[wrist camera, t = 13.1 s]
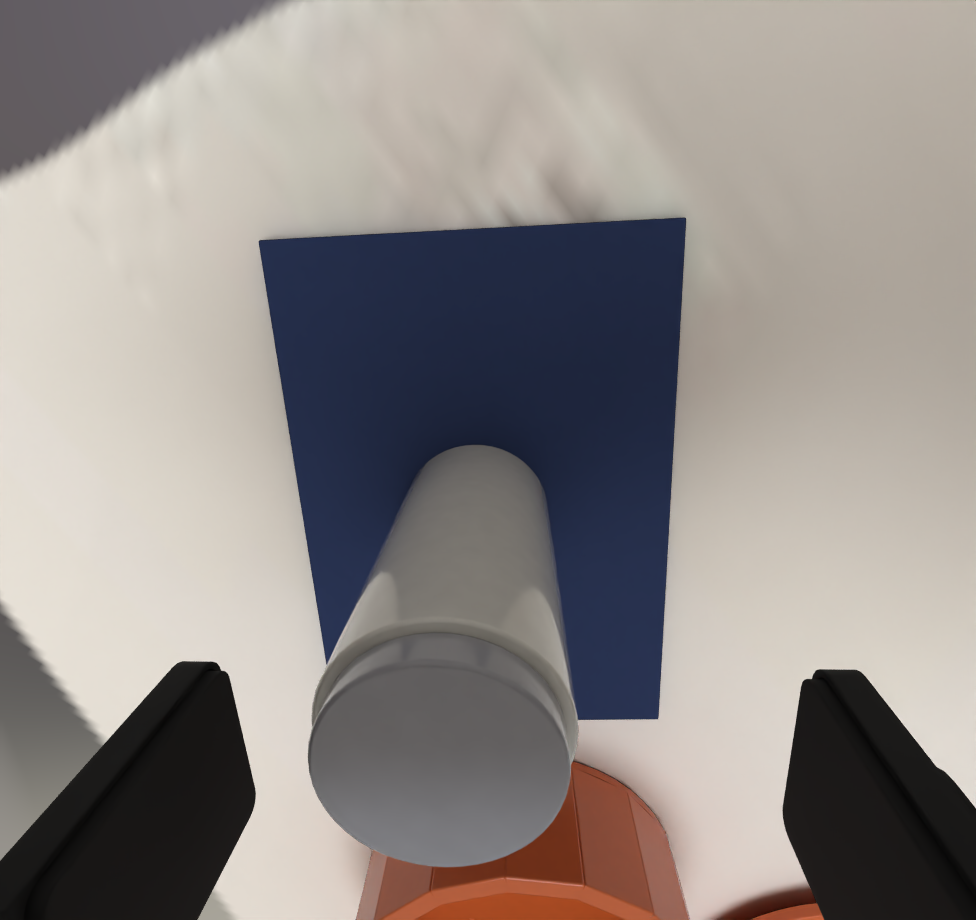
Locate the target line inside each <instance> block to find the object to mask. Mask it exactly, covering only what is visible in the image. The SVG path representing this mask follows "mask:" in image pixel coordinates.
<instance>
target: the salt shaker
mask: <svg viewBox="0 0 976 920" xmlns="http://www.w3.org/2000/svg"><path fill="white" fill-rule="evenodd" d="M578 732H579V729H578V716H577V709H576V702H575V695H574V688H573V681H572V674H571V667H570V660H569V653H568V646H567V639H566V632H565V625H564V617H563V610H562V603H561V596H560V589H559V582H558V575H557V568H556V561H555V554H554V547H553V540H552V533H551V526H550V519H549V512H548V505H547V499H546V495H545V492H544V489H543V487H542V484H541V483H540V481H539V479H538V477H537V476H536V475H535V473H534V472H533V471H532V470H531V469H530V468H529V467H528V466H527V464H525V463H524V462H523V461H522V460H520V459H519V458H518V457H516V456H514V455H513V454H511V453H509V452H507V451H504V450H502V449H499V448H495V447H492V446H485V445H465V446H459V447H455V448H452V449H449V450H446V451H444V452H442V453H440V454H438V455H437V456H435V457H434V458H432V459H431V460H429V461H428V462H427V463H426V464H425V465H424V466H423V467H422V468H421V470H420V471H419V472H418V473H417V475H416V476H415V478H414V480H413V481H412V484H411V486H410V488H409V490H408V492H407V494H406V496H405V499H404V501H403V503H402V505H401V507H400V509H399V511H398V514H397V516H396V518H395V520H394V522H393V524H392V526H391V529H390V531H389V533H388V535H387V537H386V539H385V541H384V544H383V546H382V548H381V550H380V552H379V554H378V556H377V559H376V561H375V563H374V565H373V567H372V569H371V571H370V574H369V576H368V578H367V580H366V582H365V584H364V586H363V589H362V591H361V593H360V595H359V597H358V599H357V601H356V604H355V606H354V608H353V610H352V612H351V614H350V616H349V619H348V621H347V623H346V625H345V627H344V629H343V631H342V634H341V636H340V638H339V640H338V642H337V644H336V646H335V649H334V651H333V653H332V655H331V657H330V659H329V661H328V664H327V666H326V668H325V670H324V672H323V674H322V677H321V679H320V681H319V684H318V686H317V688H316V691H315V695H314V700H313V704H312V730H311V734H310V739H309V744H308V763H309V773H310V776H311V780H312V784H313V787H314V789H315V791H316V794H317V796H318V798H319V800H320V801H321V803H322V805H323V806H324V808H325V810H326V811H327V812H328V813H329V815H330V816H331V817H332V818H333V820H334V821H335V822H336V823H337V824H338V825H339V826H340V827H341V828H342V829H344V830H345V831H346V832H347V833H348V834H350V835H351V836H352V837H354V838H355V839H356V840H358V841H359V842H361V843H362V844H364V845H366V846H367V847H369V848H371V849H373V850H375V851H377V852H379V853H381V854H384V855H386V856H389V857H392V858H394V859H397V860H400V861H404V862H408V863H412V864H417V865H424V866H430V867H465V866H472V865H479V864H483V863H487V862H491V861H495V860H497V859H500V858H503V857H506V856H508V855H510V854H512V853H514V852H516V851H518V850H520V849H522V848H523V847H525V846H527V845H528V844H530V843H531V842H533V841H534V840H535V839H536V838H537V837H539V836H540V835H541V834H542V833H543V832H544V831H545V830H546V829H547V828H548V827H549V825H550V824H551V823H552V822H553V821H554V819H555V817H556V816H557V814H558V813H559V811H560V809H561V807H562V805H563V802H564V800H565V798H566V795H567V792H568V788H569V784H570V776H571V764H572V762H573V759H574V756H575V752H576V748H577V744H578Z"/></svg>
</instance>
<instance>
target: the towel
mask: <svg viewBox="0 0 976 920" xmlns="http://www.w3.org/2000/svg"><path fill="white" fill-rule="evenodd" d="M685 231H686V218H668V219H649V220H630V221H611V222H593V223H574V224H555V225H537V226H518V227H499V228H480V229H462V230H443V231H424V232H406V233H387V234H368V235H349V236H331V237H312V238H293V239H274V240H260V241H259V247H260V253H261V260H262V266H263V272H264V278H265V284H266V291H267V297H268V303H269V309H270V316H271V322H272V328H273V334H274V340H275V347H276V353H277V359H278V365H279V372H280V378H281V384H282V390H283V396H284V403H285V409H286V415H287V421H288V427H289V434H290V440H291V446H292V452H293V459H294V465H295V471H296V477H297V483H298V490H299V496H300V502H301V508H302V515H303V521H304V527H305V533H306V539H307V546H308V552H309V558H310V564H311V570H312V577H313V583H314V589H315V595H316V602H317V608H318V614H319V620H320V626H321V633H322V639H323V645H324V651H325V658H326V664H328V661H329V659H330V657H331V655H332V653H333V651H334V649H335V646H336V644H337V642H338V640H339V638H340V636H341V634H342V631H343V629H344V627H345V625H346V623H347V621H348V619H349V616H350V614H351V612H352V610H353V608H354V606H355V604H356V601H357V599H358V597H359V595H360V593H361V591H362V589H363V586H364V584H365V582H366V580H367V578H368V576H369V574H370V571H371V569H372V567H373V565H374V563H375V561H376V559H377V556H378V554H379V552H380V550H381V548H382V546H383V544H384V541H385V539H386V537H387V535H388V533H389V531H390V529H391V526H392V524H393V522H394V520H395V518H396V516H397V514H398V511H399V509H400V507H401V505H402V503H403V501H404V499H405V496H406V494H407V492H408V490H409V488H410V486H411V484H412V481H413V480H414V478H415V476H416V475H417V473H418V472H419V471H420V470H421V468H422V467H423V466H424V465H425V464H426V463H427V462H428V461H429V460H431V459H432V458H434V457H435V456H437V455H438V454H440V453H442V452H444V451H446V450H449V449H452V448H455V447H459V446H465V445H485V446H492V447H495V448H499V449H502V450H504V451H507V452H509V453H511V454H513V455H514V456H516V457H518V458H519V459H520V460H522V461H523V462H524V463H525V464H527V466H528V467H529V468H530V469H531V470H532V471H533V472H534V473H535V475H536V476H537V477H538V479H539V481H540V483H541V484H542V487H543V489H544V492H545V495H546V499H547V505H548V512H549V519H550V526H551V533H552V540H553V547H554V554H555V561H556V568H557V575H558V582H559V589H560V596H561V603H562V610H563V617H564V625H565V632H566V639H567V646H568V653H569V660H570V667H571V674H572V681H573V688H574V695H575V702H576V709H577V716H578V720H611V719H658V716H659V698H660V680H661V662H662V644H663V626H664V608H665V590H666V572H667V554H668V536H669V518H670V500H671V482H672V464H673V446H674V428H675V410H676V392H677V374H678V357H679V339H680V321H681V303H682V285H683V267H684V249H685Z"/></svg>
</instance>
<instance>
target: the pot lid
mask: <svg viewBox="0 0 976 920" xmlns="http://www.w3.org/2000/svg"><path fill="white" fill-rule="evenodd" d="M751 920H824V918H823V916H822V914H821V911H820V909H819V907H818V904H817V903H814V904H806V905H799V906H794V907H790V908H785V909H781V910H777V911H774V912H771V913H767V914H764V915H761V916H758V917H756V918H753V919H751Z"/></svg>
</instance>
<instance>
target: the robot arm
mask: <svg viewBox="0 0 976 920" xmlns="http://www.w3.org/2000/svg"><path fill="white" fill-rule="evenodd" d="M255 796H256V792H255V786H254V782H253V778H252V773H251V769H250V765H249V760H248V756H247V752H246V747H245V743H244V739H243V734H242V730H241V726H240V721H239V717H238V713H237V708H236V704H235V700H234V696H233V691H232V687H231V683H230V678H229V676H228V674H227V673H226V672H225V671H221V669H220V667H219V665H218V664H217V663H215V662H190V661H182V662H179V663H177V664H176V665H175V666H174V667H173V668H172V669H171V670H170V671H169V672H168V673H167V674H166V675H165V677H164V678H163V679H162V680H161V681H160V682H159V683H158V684H157V686H156V687H155V688H154V689H153V690H152V691H151V692H150V693H149V695H148V696H147V697H146V698H145V699H144V700H143V701H142V702H141V703H140V705H139V706H138V707H137V708H136V709H135V710H134V711H133V712H132V714H131V715H130V716H129V717H128V718H127V719H126V720H125V721H124V723H123V724H122V725H121V726H120V727H119V728H118V729H117V730H116V732H115V733H114V734H113V735H112V736H111V737H110V738H109V739H108V741H107V742H106V743H105V744H104V745H103V746H102V747H101V748H100V749H99V751H98V752H97V753H96V754H95V755H94V756H93V757H92V758H91V760H90V761H89V762H88V763H87V764H86V765H85V766H84V767H83V769H82V770H81V771H80V772H79V773H78V774H77V775H76V777H75V778H74V779H73V780H72V781H71V782H70V783H69V785H68V786H67V787H66V788H65V789H64V790H63V791H62V792H61V793H60V794H59V795H58V797H57V798H56V799H55V800H54V801H53V802H52V803H51V804H50V806H49V807H48V808H47V809H46V810H45V811H44V813H42V815H41V816H40V817H39V818H38V819H37V820H36V821H35V822H34V824H33V825H32V826H31V827H30V828H29V829H28V830H27V831H26V833H25V834H24V835H23V836H22V837H21V838H20V839H19V840H18V842H17V843H16V844H15V845H14V846H13V847H12V848H11V849H10V851H9V852H8V853H7V854H6V855H5V856H4V857H3V858H2V860H1V861H0V920H197V919H198V918H199V916H200V914H201V912H202V910H203V908H204V906H205V904H206V902H207V900H208V898H209V896H210V894H211V892H212V890H213V888H214V886H215V884H216V882H217V881H218V879H219V877H220V875H221V873H222V871H223V869H224V867H225V865H226V863H227V861H228V859H229V857H230V855H231V853H232V851H233V849H234V847H235V845H236V844H237V842H238V840H239V838H240V836H241V834H242V832H243V830H244V828H245V826H246V824H247V822H248V820H249V818H250V816H251V814H252V811H253V808H254V804H255ZM783 820H784V825H785V829H786V832H787V835H788V838H789V840H790V842H791V844H792V847H793V849H794V851H795V854H796V856H797V858H798V861H799V863H800V865H801V867H802V870H803V872H804V874H805V877H806V879H807V881H808V884H809V886H810V888H811V891H812V893H813V895H814V897H815V900H816V902H817V904H818V907H819V909H820V911H821V914H822V916H823V918H824V920H976V808H975V807H974V806H973V804H972V803H971V802H970V801H969V799H968V798H967V797H966V796H965V794H964V793H963V792H962V791H961V789H960V788H959V787H958V786H957V784H956V783H955V782H954V781H953V780H952V779H951V778H950V777H949V776H948V775H947V774H946V773H945V772H944V771H943V770H941V769H939V768H937V767H936V766H935V765H934V763H933V762H932V761H931V759H930V758H929V757H928V756H927V754H926V753H925V752H924V751H923V749H922V748H921V747H920V745H919V744H918V743H917V742H916V740H915V739H914V738H913V737H912V735H911V734H910V733H909V731H908V730H907V729H906V728H905V726H904V725H903V724H902V723H901V721H900V720H899V719H898V717H897V716H896V715H895V714H894V712H893V711H892V710H891V708H890V707H889V706H888V705H887V703H886V702H885V701H884V700H883V698H882V697H881V696H880V694H879V693H878V692H877V691H876V689H875V688H874V687H873V686H872V684H871V683H870V682H869V680H868V679H867V678H866V677H865V676H864V675H863V674H862V673H861V672H860V671H857V670H825V669H820V670H816V671H815V673H814V674H813V678H812V679H806V680H804V681H803V682H802V686H801V692H800V698H799V705H798V711H797V718H796V725H795V731H794V738H793V744H792V751H791V757H790V764H789V770H788V777H787V783H786V790H785V796H784V803H783Z"/></svg>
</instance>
